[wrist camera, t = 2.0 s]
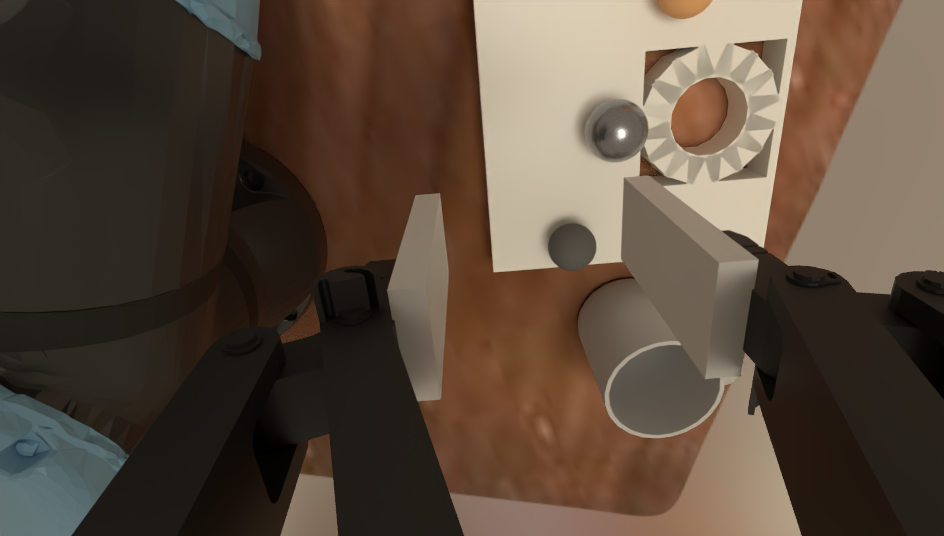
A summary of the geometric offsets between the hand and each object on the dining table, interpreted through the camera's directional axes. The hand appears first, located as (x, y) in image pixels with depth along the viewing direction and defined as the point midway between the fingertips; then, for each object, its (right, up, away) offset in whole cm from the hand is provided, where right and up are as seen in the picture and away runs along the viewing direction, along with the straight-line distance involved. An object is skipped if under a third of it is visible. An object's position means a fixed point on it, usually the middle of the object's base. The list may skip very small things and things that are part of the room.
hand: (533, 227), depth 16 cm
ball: (+6, +6, +13) cm, 16 cm away
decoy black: (+4, 0, +16) cm, 17 cm away
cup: (+11, -5, +23) cm, 26 cm away
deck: (+8, +8, +17) cm, 20 cm away
